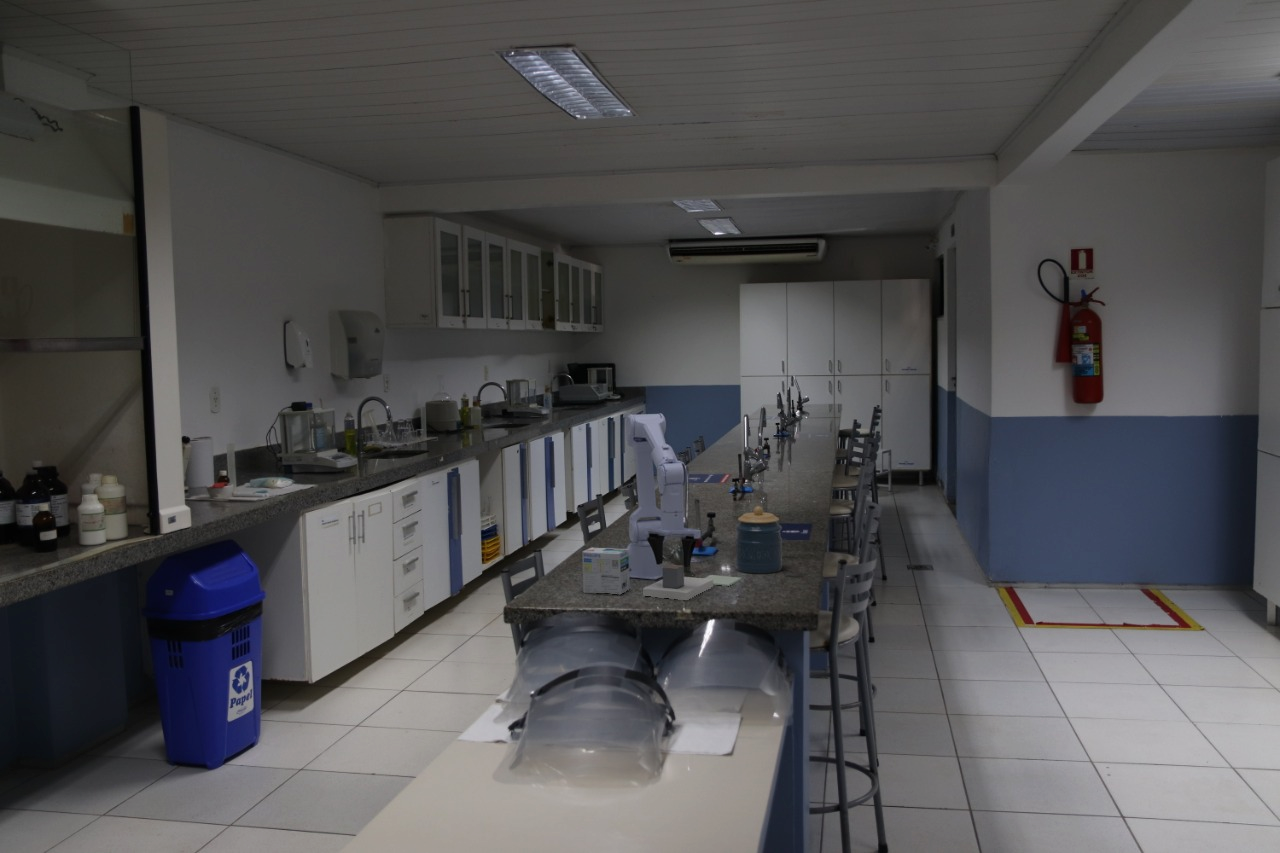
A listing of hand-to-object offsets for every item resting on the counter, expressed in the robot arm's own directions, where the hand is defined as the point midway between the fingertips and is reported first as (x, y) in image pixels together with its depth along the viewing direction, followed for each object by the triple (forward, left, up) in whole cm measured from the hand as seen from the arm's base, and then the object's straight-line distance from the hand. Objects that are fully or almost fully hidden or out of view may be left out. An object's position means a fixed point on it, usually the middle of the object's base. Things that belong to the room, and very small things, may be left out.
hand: (673, 565), depth 252 cm
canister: (+9, +36, -8) cm, 38 cm away
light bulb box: (-17, -4, -8) cm, 19 cm away
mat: (+5, +18, -7) cm, 20 cm away
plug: (0, 0, -7) cm, 7 cm away
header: (0, +3, -7) cm, 8 cm away
